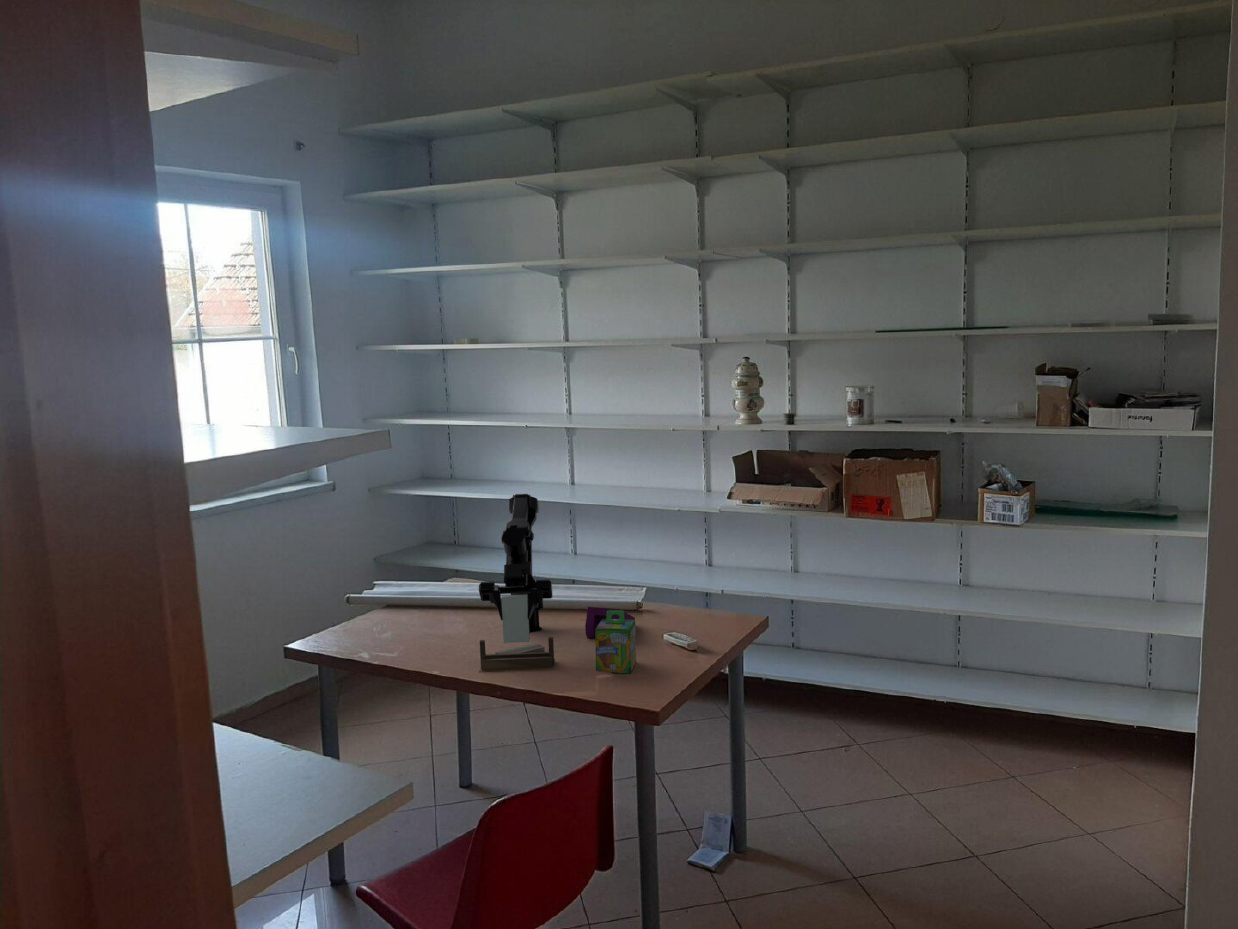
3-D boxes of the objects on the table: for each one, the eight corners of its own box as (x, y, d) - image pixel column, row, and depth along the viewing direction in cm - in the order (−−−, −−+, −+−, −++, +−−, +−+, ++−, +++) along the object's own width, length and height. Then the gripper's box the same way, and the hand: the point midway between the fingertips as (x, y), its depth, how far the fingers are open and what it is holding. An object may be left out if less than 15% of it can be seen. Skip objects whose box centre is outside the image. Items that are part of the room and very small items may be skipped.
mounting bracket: (605, 646, 272) (583, 636, 256) (609, 617, 275) (587, 606, 259) (636, 648, 269) (615, 639, 253) (639, 620, 272) (619, 609, 256)
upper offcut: (495, 657, 244) (495, 652, 244) (535, 648, 251) (535, 642, 251) (504, 662, 240) (504, 656, 240) (544, 653, 247) (544, 647, 246)
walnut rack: (482, 664, 242) (481, 636, 241) (555, 661, 242) (554, 633, 241) (479, 675, 234) (477, 645, 233) (554, 672, 234) (552, 642, 233)
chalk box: (595, 673, 232) (593, 616, 231) (602, 661, 241) (600, 606, 240) (631, 674, 231) (629, 616, 229) (637, 662, 240) (635, 606, 238)
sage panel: (504, 640, 238) (502, 595, 237) (529, 639, 238) (527, 594, 237) (503, 643, 236) (501, 597, 235) (529, 642, 236) (526, 596, 235)
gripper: (477, 551, 238) (474, 605, 228) (549, 549, 238) (549, 602, 229) (482, 574, 247) (479, 626, 237) (552, 571, 247) (552, 623, 238)
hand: (515, 619), depth 235 cm, fingers closed on sage panel, 6 cm apart
